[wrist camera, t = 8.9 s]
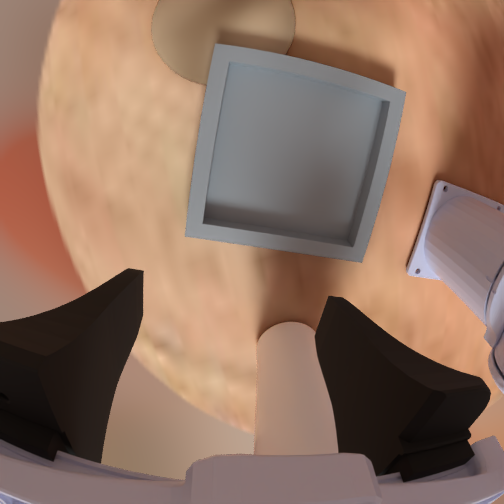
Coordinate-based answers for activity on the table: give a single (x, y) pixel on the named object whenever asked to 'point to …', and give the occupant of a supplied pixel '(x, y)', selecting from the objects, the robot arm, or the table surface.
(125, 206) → the table surface
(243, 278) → the table surface
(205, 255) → the table surface
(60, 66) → the table surface
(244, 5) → the cork coaster
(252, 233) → the tray
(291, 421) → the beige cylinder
